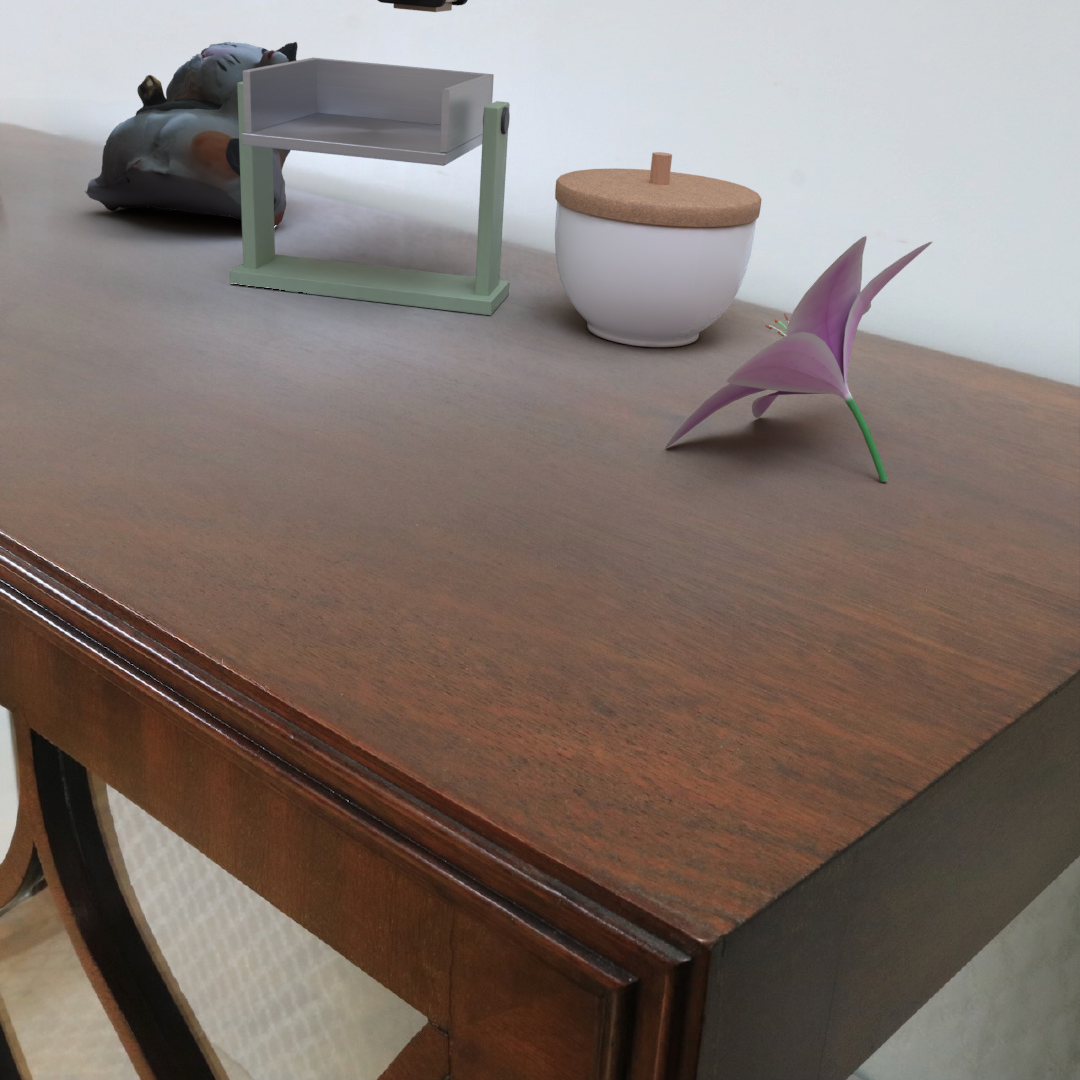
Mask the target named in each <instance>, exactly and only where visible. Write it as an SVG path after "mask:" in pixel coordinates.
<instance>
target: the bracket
mask: <svg viewBox="0 0 1080 1080" xmlns="http://www.w3.org/2000/svg"><path fill="white" fill-rule="evenodd" d="M237 88H238V118H239V149H240V180H241V210H242V220H241V234H242V235H241V236H242V240H241V241H242V263H241V264H240V265H237V266H236V267H234V268H232V269H230V270H229V284H230V283H233V284H234V283H237V284H242V285H247V286H246V287H248V285H250V286H256V287H269V288H274V289H279V290H278V291H281V290H285V291H284V292H290V293H298V292H303V293H302V294H306V293H307V295H315V296H325V297H332V298H342V299H349V300H358V301H365V302H375V303H383V304H391V305H398V306H399V305H401V306H408V307H416V308H425V309H432V310H440V311H441V310H442V311H449V312H457V313H465V314H466V313H468V314H474V315H482V316H483V315H484V316H492V315H493V314H494V312H495V311H496V310H497V308H498V307H500V305H501V304H502V303H503V302H504V301H505V299H507V297H508V296H509V295H510V283H511V282H510V281H509V280H503V279H500V277H501V263H502V262H501V261H502V245H503V244H502V243H503V229H504V228H503V226H504V225H503V224H504V210H505V209H504V208H505V193H506V190H505V189H506V177H507V176H506V174H507V173H506V172H507V158H508V157H507V156H508V142H509V141H508V138H509V127H510V120H511V119H510V106H511V105H510V102H509V101H498V100H497V101H494V102H492V104H489V105H487V106H485V107H484V114H483V138H482V144H481V159H480V161H481V162H480V179H479V180H480V182H479V199H478V200H479V201H478V202H479V203H478V221H477V240H476V243H477V244H476V259H475V260H476V261H475V262H476V263H475V276H469V275H461V274H460V275H459V274H450V273H441V272H434V271H424V270H416V269H407V268H399V267H389V266H382V265H373V264H363V263H355V262H346V261H338V260H329V259H322V258H321V259H320V258H314V257H313V258H312V257H302V256H296V255H295V256H293V255H286V254H277V253H276V243H275V242H276V240H275V239H276V238H275V235H276V233H275V229H274V187H273V148H267V147H257V146H247V145H242V133H245V128H244V96H243V82H239V83H237ZM256 287H255V288H256Z"/></svg>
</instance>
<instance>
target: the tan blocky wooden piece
mask: <svg viewBox="0 0 1080 1080" xmlns="http://www.w3.org/2000/svg"><path fill="white" fill-rule="evenodd" d="M455 1H457V0H446V2H445V4H444V5H443V6H442V7H436V8H433V7H422V6H412V5H401V4H393V9H397V10H409V11H420V12H429V13H440V12H450V11H452V10H453V5H452V2H455Z"/></svg>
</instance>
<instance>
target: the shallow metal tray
mask: <svg viewBox="0 0 1080 1080" xmlns="http://www.w3.org/2000/svg"><path fill="white" fill-rule="evenodd" d="M296 60H297V59H296ZM494 77H495V75H494V74H493V73H484V72H475V71H473V72H472V71H463V70H451V69H441V68H431V67H430V68H429V67H421V66H419V67H418V66H409V65H398V64H388V63H377V62H376V63H375V62H367V61H366V62H365V61H354V60H344V59H336V58H335V59H334V58H323V57H322V58H321V57H308V58H303V59H298V60H297V61H292V62H286V63H281V64H276V65H270V66H265V67H259V68H254V69H249V70H243V96H244V128H245V133H242V145H247V146H257V147H267V148H276V149H286V150H291V151H297V152H307V153H316V154H325V155H334V156H335V155H336V156H344V157H345V156H346V157H353V158H364V159H374V160H384V161H393V162H402V163H403V162H404V163H412V164H413V163H414V164H421V165H422V164H423V165H431V166H432V165H433V166H440V167H445V166H447V165H448V164H450V163H451V162H454V161H455V160H457V159H458V158H461V157H462V156H464V155H466V154H467V153H469V152H471V151H473V150H475V149H476V148H478V147H479V146H482V138H483V114H484V107H485V106H487V105H489V104H492V103H493V98H494V97H493V95H494Z"/></svg>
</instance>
